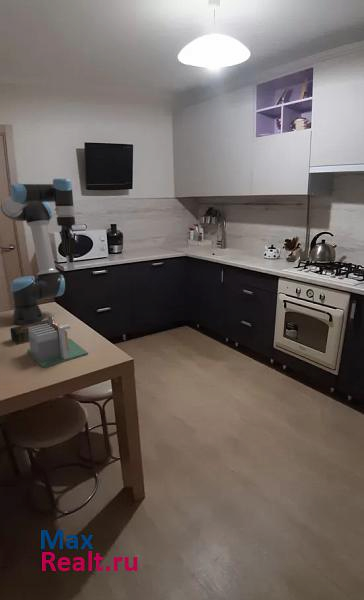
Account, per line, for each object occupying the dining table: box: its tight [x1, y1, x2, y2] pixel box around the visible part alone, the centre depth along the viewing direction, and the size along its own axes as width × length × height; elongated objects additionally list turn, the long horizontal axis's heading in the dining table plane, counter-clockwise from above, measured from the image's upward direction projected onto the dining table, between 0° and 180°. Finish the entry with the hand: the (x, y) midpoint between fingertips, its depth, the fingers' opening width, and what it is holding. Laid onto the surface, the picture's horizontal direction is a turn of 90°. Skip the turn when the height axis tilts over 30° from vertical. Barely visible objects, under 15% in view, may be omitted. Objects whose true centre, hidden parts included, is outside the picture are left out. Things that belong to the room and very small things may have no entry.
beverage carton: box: [9, 319, 49, 345], centre depth 169 cm, size 8×19×7 cm, turn 133°
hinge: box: [47, 316, 69, 350], centre depth 151 cm, size 18×2×12 cm, turn 38°
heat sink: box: [27, 323, 89, 369], centre depth 150 cm, size 20×19×14 cm
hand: (71, 269), depth 161 cm, fingers closed
